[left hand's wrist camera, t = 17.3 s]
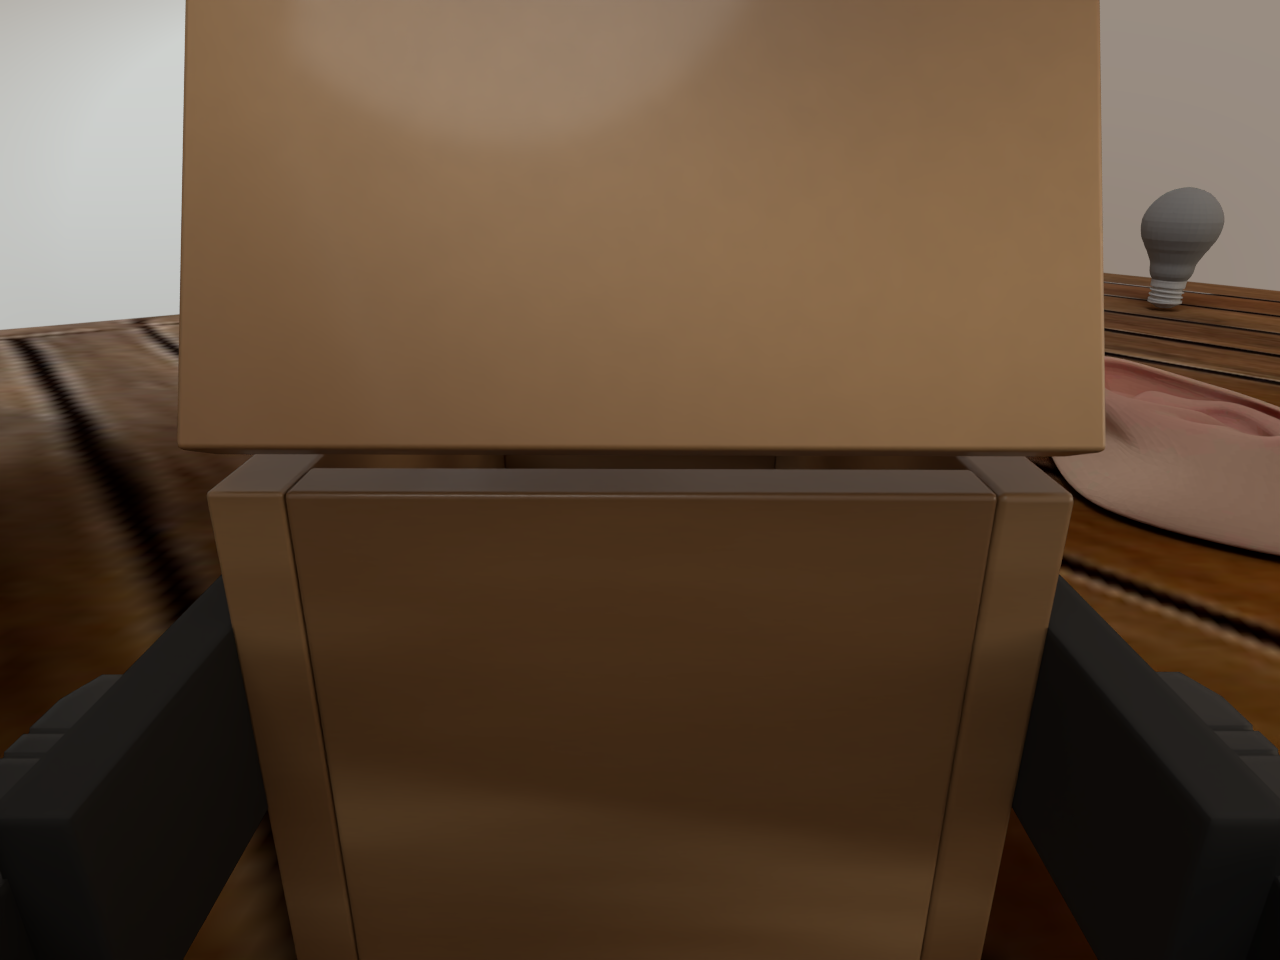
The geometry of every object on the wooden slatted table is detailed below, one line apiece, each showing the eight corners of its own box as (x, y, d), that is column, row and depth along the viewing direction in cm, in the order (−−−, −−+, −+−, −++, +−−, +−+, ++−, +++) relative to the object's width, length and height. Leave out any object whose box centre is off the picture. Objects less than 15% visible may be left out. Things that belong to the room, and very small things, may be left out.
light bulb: (1141, 312, 73) (1167, 188, 69) (1114, 300, 78) (1137, 185, 75) (1216, 314, 72) (1247, 189, 69) (1183, 302, 78) (1210, 186, 74)
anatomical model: (1488, 467, 26) (1070, 421, 30) (1444, 583, 27) (1051, 524, 32) (1352, 370, 37) (1062, 347, 42) (1325, 456, 39) (1048, 425, 43)
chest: (488, 583, 28) (468, 282, 24) (790, 584, 28) (812, 284, 24) (318, 1075, 13) (203, 492, 10) (959, 1077, 13) (1079, 495, 10)
